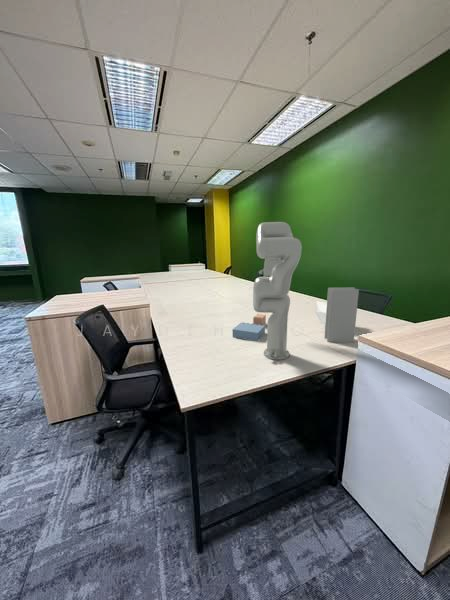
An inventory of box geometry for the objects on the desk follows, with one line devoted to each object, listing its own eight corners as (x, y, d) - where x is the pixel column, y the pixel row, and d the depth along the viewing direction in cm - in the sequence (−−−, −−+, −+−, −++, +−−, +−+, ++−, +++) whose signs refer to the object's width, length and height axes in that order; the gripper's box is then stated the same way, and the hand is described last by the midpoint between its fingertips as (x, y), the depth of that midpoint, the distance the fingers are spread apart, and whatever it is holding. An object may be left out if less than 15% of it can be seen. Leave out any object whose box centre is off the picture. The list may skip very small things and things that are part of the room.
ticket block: (257, 341, 139) (258, 332, 138) (232, 337, 146) (232, 328, 145) (265, 332, 152) (265, 324, 151) (241, 329, 159) (241, 321, 158)
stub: (261, 327, 162) (261, 318, 160) (253, 325, 164) (253, 317, 163) (265, 323, 170) (265, 314, 168) (257, 322, 172) (257, 313, 171)
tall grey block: (349, 338, 140) (354, 287, 133) (353, 342, 134) (359, 289, 128) (324, 338, 141) (328, 287, 135) (327, 341, 136) (331, 289, 129)
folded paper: (341, 306, 144) (356, 304, 154) (308, 299, 164) (323, 298, 173) (337, 333, 147) (353, 330, 157) (305, 323, 167) (321, 321, 176)
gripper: (256, 256, 140) (256, 285, 144) (286, 256, 133) (285, 287, 137) (260, 256, 147) (260, 283, 151) (289, 256, 140) (288, 285, 143)
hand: (272, 285), depth 144 cm, fingers open, 9 cm apart
